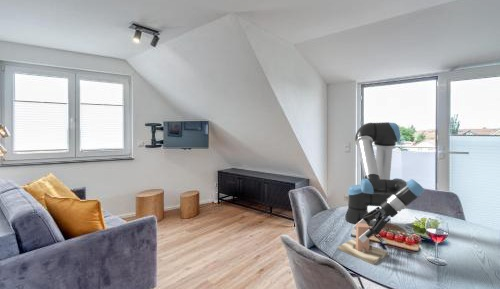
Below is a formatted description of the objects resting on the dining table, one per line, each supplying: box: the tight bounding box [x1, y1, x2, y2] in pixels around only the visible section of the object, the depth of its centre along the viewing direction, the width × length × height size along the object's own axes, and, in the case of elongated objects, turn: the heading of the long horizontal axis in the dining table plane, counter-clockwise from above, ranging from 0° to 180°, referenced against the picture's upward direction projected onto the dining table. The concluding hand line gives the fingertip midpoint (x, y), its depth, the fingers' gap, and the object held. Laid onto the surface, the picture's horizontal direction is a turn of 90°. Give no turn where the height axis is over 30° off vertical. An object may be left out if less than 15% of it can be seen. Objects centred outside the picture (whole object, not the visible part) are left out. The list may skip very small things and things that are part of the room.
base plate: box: [337, 238, 389, 265], centre depth 123 cm, size 14×18×4 cm
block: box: [355, 223, 370, 252], centre depth 123 cm, size 5×5×12 cm
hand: (357, 234), depth 123 cm, fingers open, 13 cm apart
